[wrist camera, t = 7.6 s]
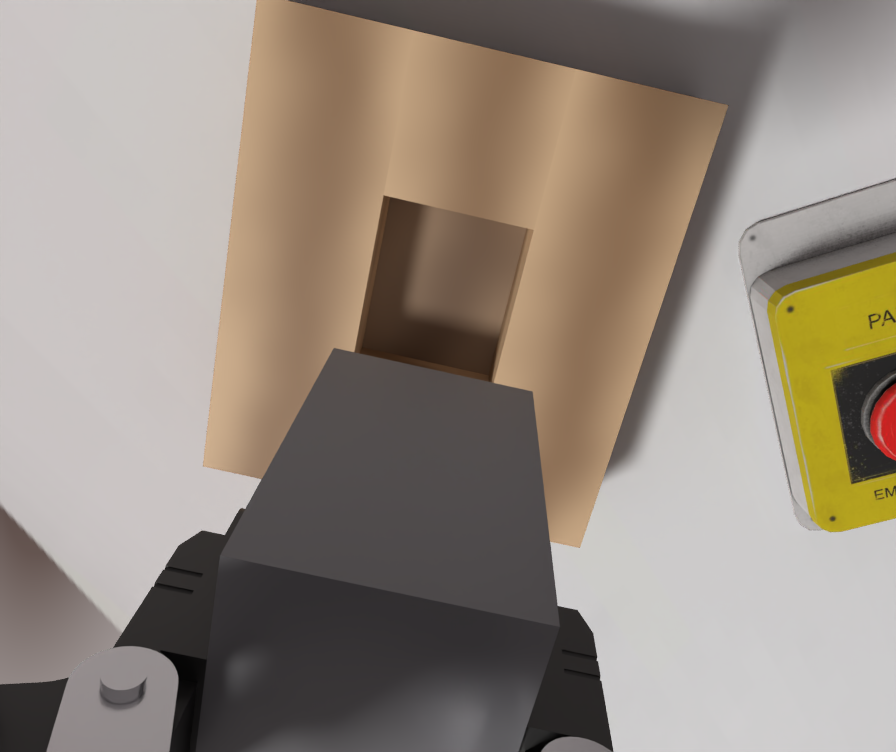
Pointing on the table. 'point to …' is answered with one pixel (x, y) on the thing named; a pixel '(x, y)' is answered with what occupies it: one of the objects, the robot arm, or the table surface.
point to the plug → (387, 573)
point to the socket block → (448, 232)
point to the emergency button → (830, 352)
